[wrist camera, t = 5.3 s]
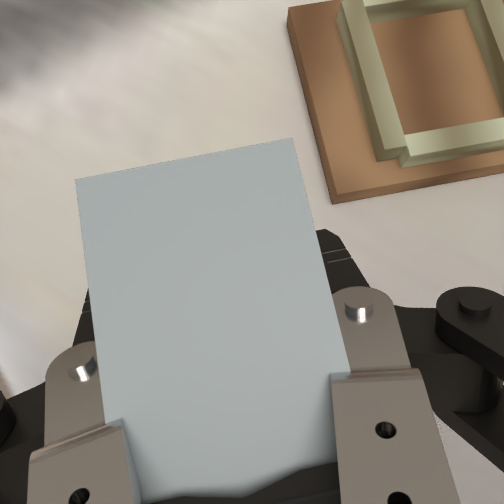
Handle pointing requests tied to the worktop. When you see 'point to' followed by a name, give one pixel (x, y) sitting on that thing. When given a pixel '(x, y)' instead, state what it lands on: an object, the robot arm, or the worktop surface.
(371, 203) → the worktop surface
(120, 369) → the pale grey rectangular prism
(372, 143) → the brown framed socket base
